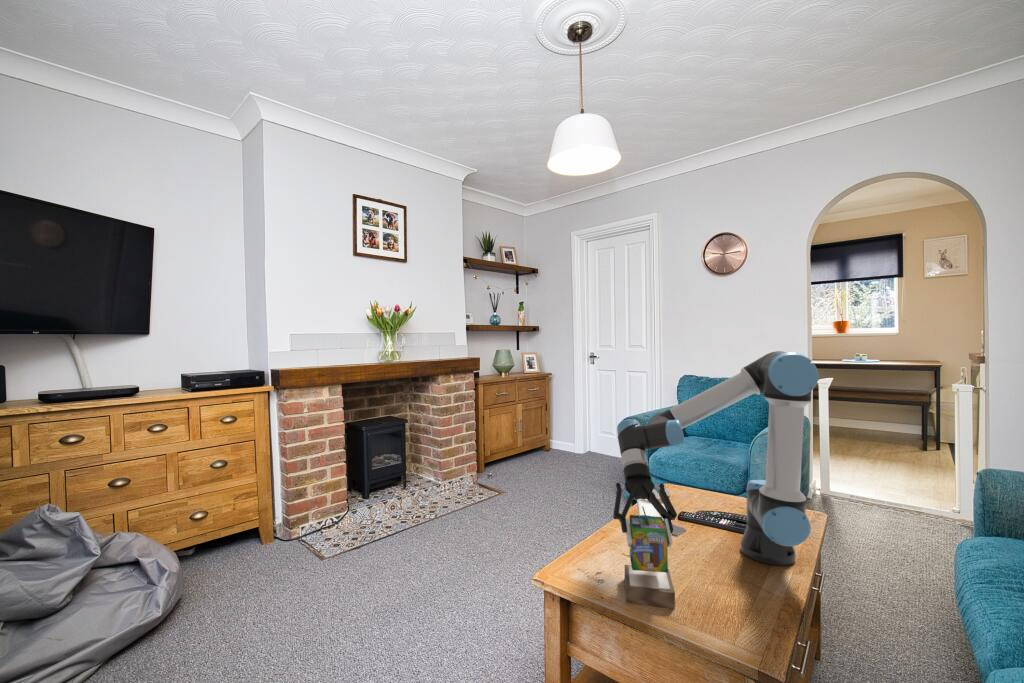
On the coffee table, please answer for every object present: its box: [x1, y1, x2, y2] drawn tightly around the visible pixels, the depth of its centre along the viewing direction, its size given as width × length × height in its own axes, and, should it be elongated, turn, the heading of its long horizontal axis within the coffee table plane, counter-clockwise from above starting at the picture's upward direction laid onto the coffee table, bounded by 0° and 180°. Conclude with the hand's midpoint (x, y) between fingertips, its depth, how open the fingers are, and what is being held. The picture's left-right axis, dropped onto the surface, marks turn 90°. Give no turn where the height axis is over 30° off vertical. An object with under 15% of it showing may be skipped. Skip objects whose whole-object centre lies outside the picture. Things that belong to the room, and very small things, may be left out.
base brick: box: [624, 564, 676, 609], centre depth 121 cm, size 12×12×4 cm
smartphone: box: [672, 523, 687, 537], centre depth 164 cm, size 7×1×15 cm
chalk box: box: [629, 505, 669, 573], centre depth 121 cm, size 9×9×15 cm
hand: (650, 545), depth 118 cm, fingers closed on chalk box, 10 cm apart
